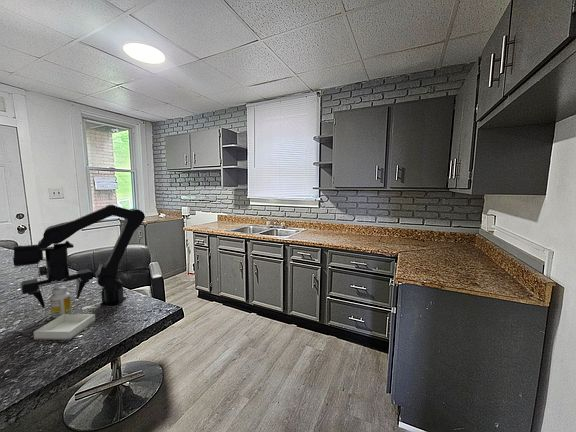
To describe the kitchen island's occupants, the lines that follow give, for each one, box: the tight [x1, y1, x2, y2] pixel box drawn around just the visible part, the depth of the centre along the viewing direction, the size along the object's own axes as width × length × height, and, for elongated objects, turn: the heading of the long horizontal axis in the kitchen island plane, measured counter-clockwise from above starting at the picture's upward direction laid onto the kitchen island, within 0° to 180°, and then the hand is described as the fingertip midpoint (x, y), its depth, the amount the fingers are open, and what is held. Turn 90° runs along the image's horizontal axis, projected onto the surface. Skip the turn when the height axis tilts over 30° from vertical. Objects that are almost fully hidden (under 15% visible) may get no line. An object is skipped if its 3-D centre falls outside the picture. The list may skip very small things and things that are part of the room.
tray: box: [33, 313, 96, 340], centre depth 82 cm, size 11×11×2 cm
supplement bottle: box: [49, 286, 72, 319], centre depth 91 cm, size 5×5×10 cm
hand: (61, 303), depth 91 cm, fingers open, 9 cm apart
